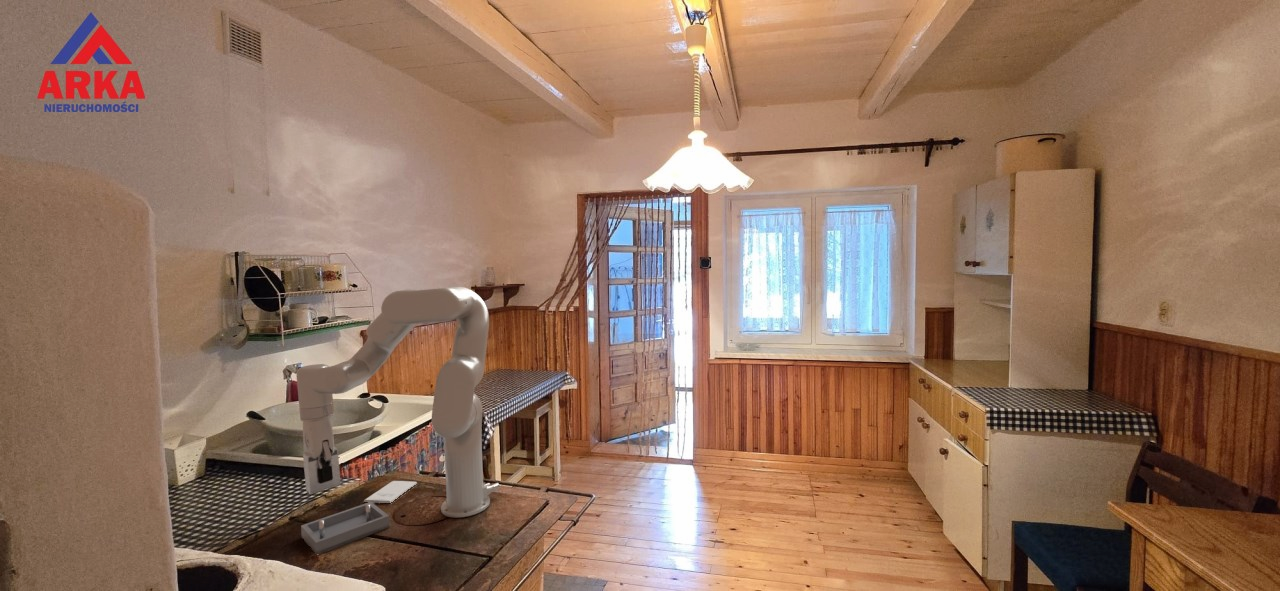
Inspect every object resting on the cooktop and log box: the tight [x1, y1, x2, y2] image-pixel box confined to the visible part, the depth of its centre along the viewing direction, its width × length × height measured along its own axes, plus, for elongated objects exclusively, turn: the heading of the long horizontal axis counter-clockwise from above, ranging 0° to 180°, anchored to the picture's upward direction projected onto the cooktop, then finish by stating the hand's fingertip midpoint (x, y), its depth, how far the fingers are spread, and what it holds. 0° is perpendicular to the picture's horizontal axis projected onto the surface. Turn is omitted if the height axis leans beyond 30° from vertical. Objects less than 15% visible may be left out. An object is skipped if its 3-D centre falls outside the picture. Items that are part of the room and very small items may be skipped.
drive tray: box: [300, 502, 391, 556], centre depth 124 cm, size 16×12×5 cm
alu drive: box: [302, 445, 342, 495], centre depth 133 cm, size 7×4×10 cm, turn 138°
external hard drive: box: [363, 480, 418, 504], centre depth 145 cm, size 2×8×12 cm
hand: (322, 478), depth 133 cm, fingers closed on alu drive, 4 cm apart
